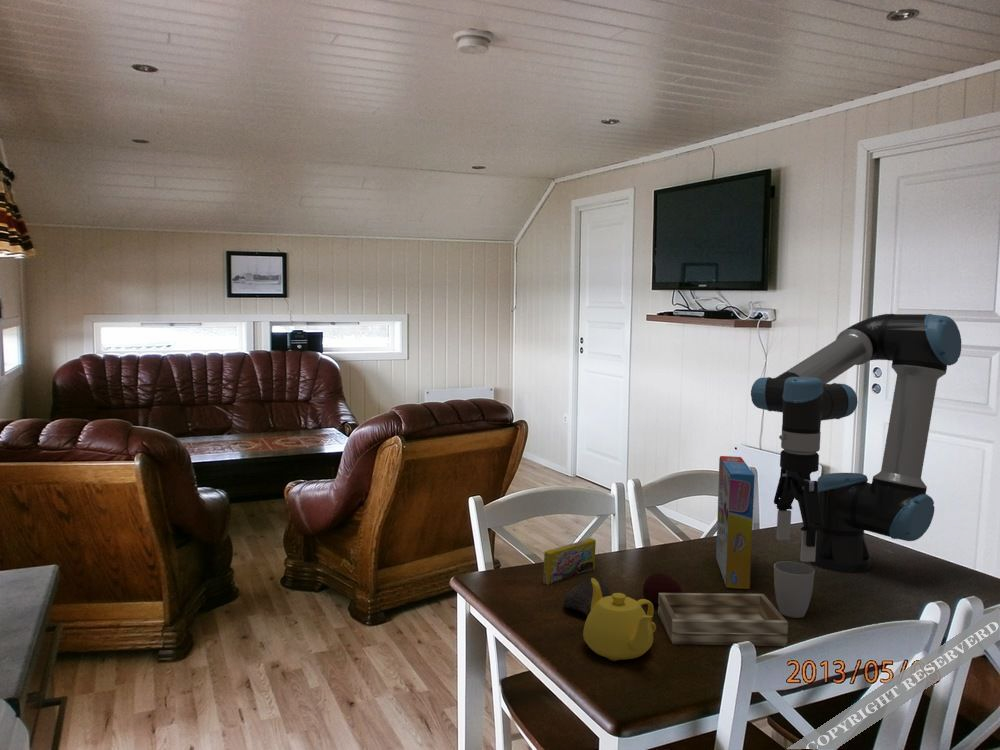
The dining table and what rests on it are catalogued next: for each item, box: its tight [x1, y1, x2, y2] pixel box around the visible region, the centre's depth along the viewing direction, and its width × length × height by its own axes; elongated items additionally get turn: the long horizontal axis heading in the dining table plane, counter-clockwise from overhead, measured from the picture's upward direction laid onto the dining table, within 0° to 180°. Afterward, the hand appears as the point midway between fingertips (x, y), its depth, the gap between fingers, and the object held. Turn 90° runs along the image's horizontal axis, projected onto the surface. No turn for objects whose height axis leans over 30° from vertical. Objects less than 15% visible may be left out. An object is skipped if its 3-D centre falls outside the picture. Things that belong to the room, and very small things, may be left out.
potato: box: [642, 572, 683, 606], centre depth 163 cm, size 7×8×7 cm
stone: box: [563, 578, 612, 618], centre depth 158 cm, size 10×8×10 cm
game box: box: [715, 455, 756, 590], centre depth 181 cm, size 21×6×27 cm, turn 170°
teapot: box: [582, 577, 657, 662], centre depth 141 cm, size 20×15×12 cm
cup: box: [773, 560, 816, 619], centre depth 159 cm, size 8×8×10 cm
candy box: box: [542, 537, 597, 586], centre depth 178 cm, size 16×2×8 cm, turn 131°
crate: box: [657, 592, 789, 647], centre depth 150 cm, size 22×14×5 cm, turn 89°
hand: (794, 549), depth 158 cm, fingers open, 13 cm apart
